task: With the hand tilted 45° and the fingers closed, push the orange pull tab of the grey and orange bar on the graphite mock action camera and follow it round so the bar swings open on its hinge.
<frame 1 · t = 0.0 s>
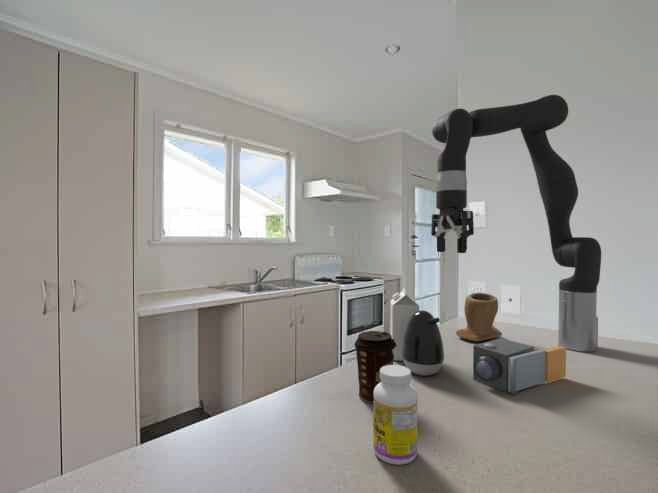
hand: (450, 252, 90), 29 cm above the worktop, tool pointing down, fingers open, 8 cm apart
coffee cup: (375, 398, 72), on the worktop
milk carton: (404, 357, 96), on the worktop
pump dispenser: (422, 372, 85), on the worktop
clay pot: (481, 339, 114), on the worktop
supplement bottle: (394, 454, 53), on the worktop
camera body: (503, 380, 80), on the worktop
grey and orange bar: (538, 368, 77), point 4 cm above the worktop, hinge at 5.0°
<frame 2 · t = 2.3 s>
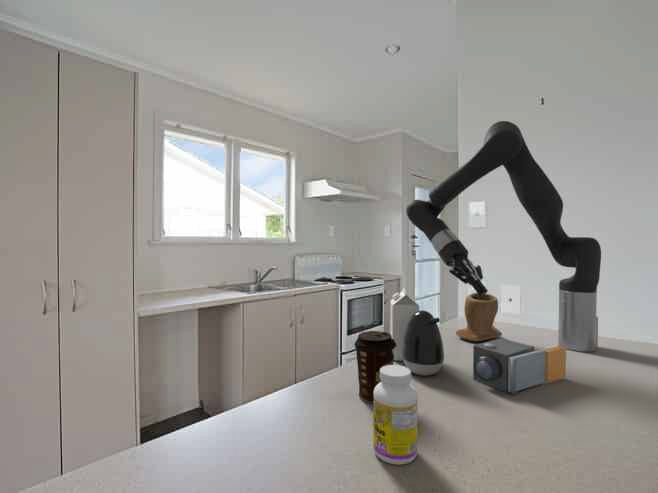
hand: (483, 293, 96), 18 cm above the worktop, tool tilted 45°, fingers closed
nothing on the worktop moved.
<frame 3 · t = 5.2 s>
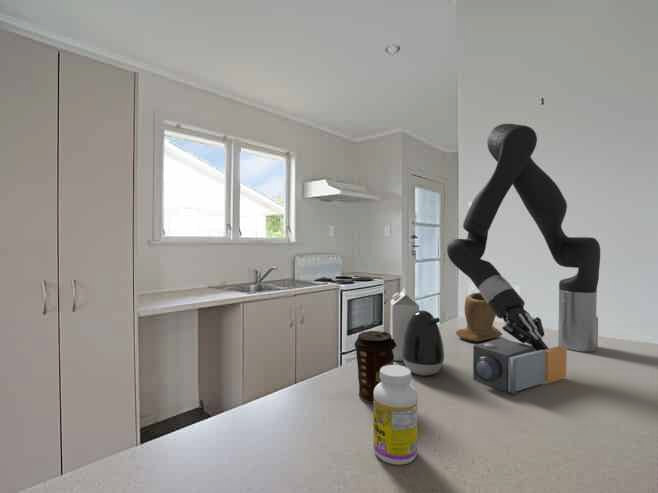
hand: (547, 356, 81), 5 cm above the worktop, tool tilted 45°, fingers closed
grey and orange bar: (538, 368, 77), point 4 cm above the worktop, hinge at 5.3°, touching gripper
everything else where it was.
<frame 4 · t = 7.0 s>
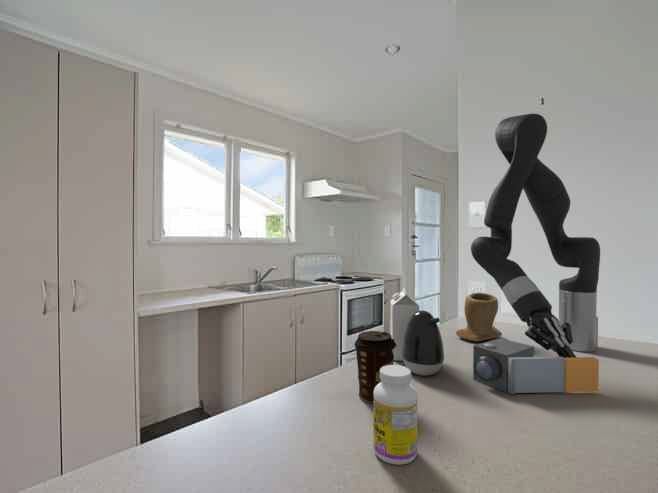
hand: (573, 365, 75), 5 cm above the worktop, tool tilted 45°, fingers closed
grey and orange bar: (552, 375, 73), point 4 cm above the worktop, hinge at 29.7°, touching gripper
everything else where it was.
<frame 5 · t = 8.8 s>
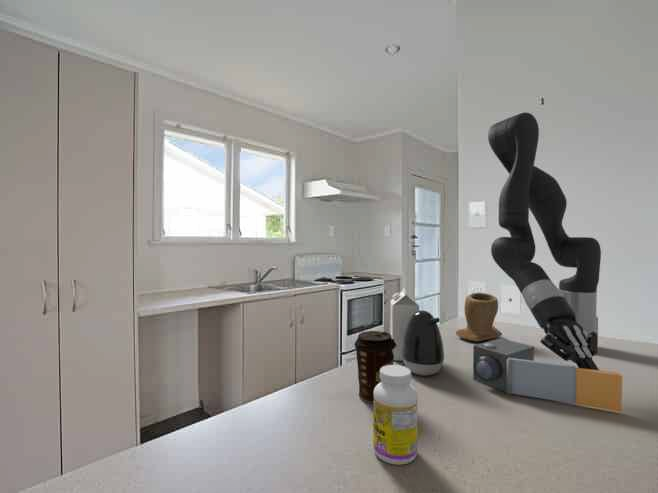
hand: (595, 378, 68), 5 cm above the worktop, tool tilted 45°, fingers closed
grey and orange bar: (560, 383, 69), point 4 cm above the worktop, hinge at 57.3°, touching gripper
everything else where it was.
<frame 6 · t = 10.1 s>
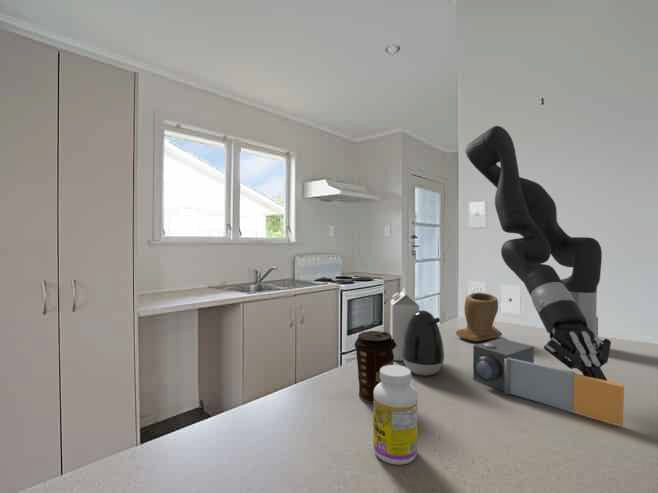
hand: (601, 389, 63), 5 cm above the worktop, tool tilted 45°, fingers closed
grey and orange bar: (558, 388, 66), point 4 cm above the worktop, hinge at 76.5°, touching gripper
everything else where it was.
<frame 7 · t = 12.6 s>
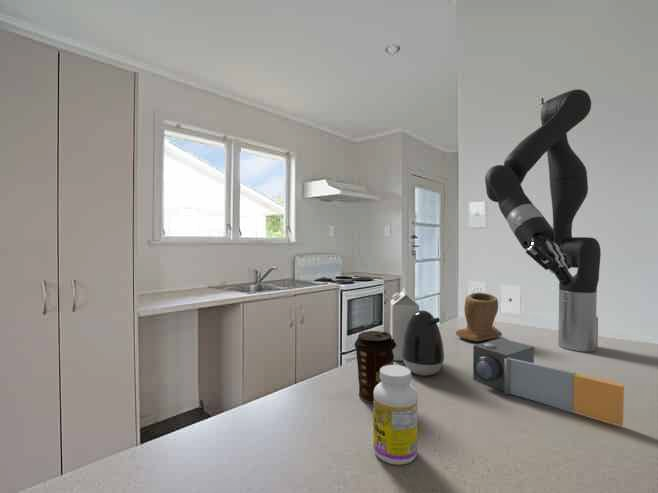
hand: (570, 285, 74), 23 cm above the worktop, tool tilted 40°, fingers closed
grey and orange bar: (558, 388, 66), point 4 cm above the worktop, hinge at 76.6°
everything else where it was.
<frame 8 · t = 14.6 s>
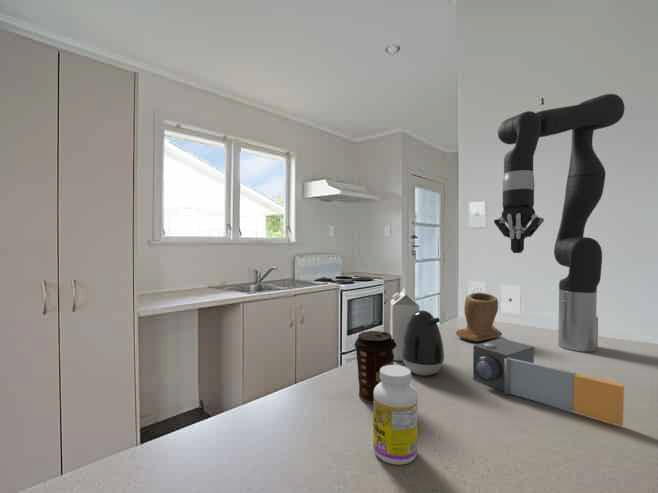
hand: (517, 252, 95), 29 cm above the worktop, tool pointing down, fingers closed
nothing on the worktop moved.
at the end: grey and orange bar at +77° (first picture: +5°) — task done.
